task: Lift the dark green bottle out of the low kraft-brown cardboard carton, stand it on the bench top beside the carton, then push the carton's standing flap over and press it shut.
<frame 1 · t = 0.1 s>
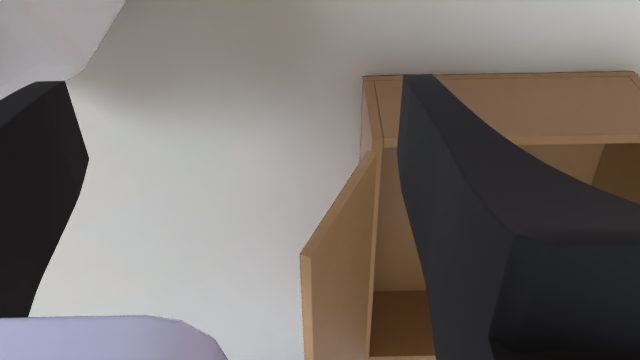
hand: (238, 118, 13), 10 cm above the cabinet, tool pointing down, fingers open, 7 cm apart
carton: (474, 196, 28), on the cabinet
flap: (340, 330, 22), point 7 cm above the cabinet, hinge at 115.0°
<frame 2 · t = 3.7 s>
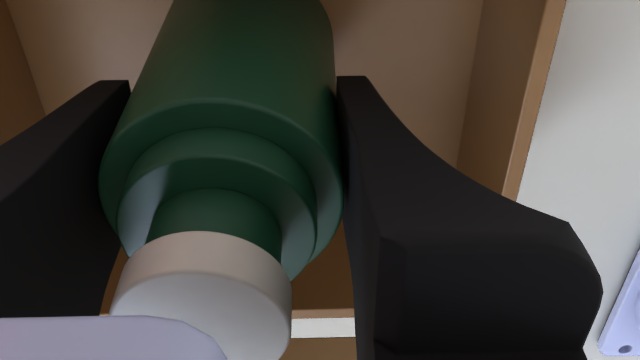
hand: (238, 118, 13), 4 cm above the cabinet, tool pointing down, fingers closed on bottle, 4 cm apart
carton: (254, 70, 17), on the cabinet
bottle: (250, 44, 16), resting on carton, touching gripper
when the fingers open (4 cm above the cabinet, at t = 8.1 s): bottle stays where it is, on the cabinet.
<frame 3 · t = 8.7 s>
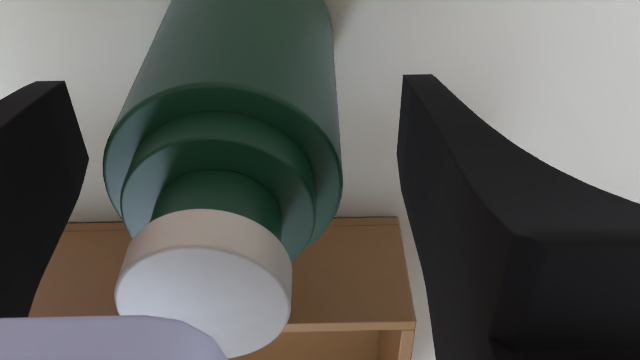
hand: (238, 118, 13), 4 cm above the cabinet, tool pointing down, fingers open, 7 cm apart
carton: (226, 321, 24), on the cabinet
bottle: (250, 35, 16), on the cabinet
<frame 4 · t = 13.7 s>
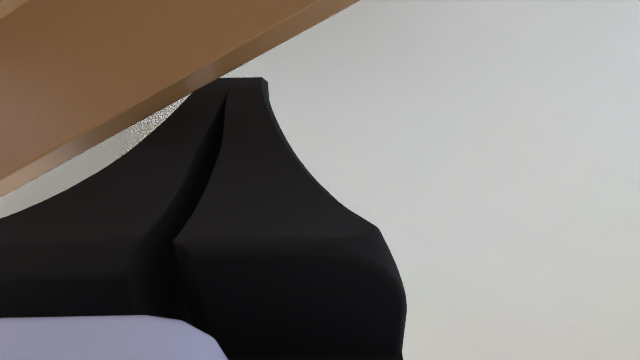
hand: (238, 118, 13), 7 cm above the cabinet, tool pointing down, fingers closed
flap: (139, 10, 11), point 8 cm above the cabinet, hinge at 105.8°, touching gripper
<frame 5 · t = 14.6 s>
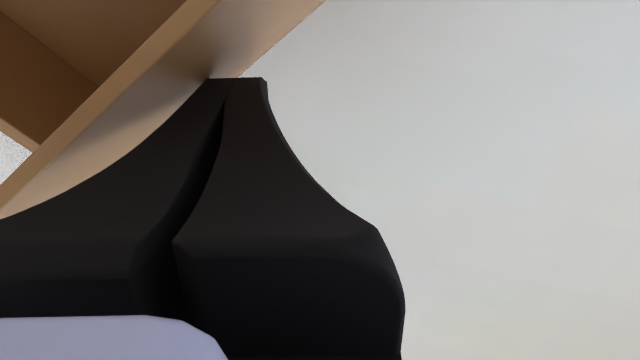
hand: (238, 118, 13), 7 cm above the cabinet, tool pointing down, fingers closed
flap: (181, 82, 12), point 7 cm above the cabinet, hinge at 61.8°, touching gripper
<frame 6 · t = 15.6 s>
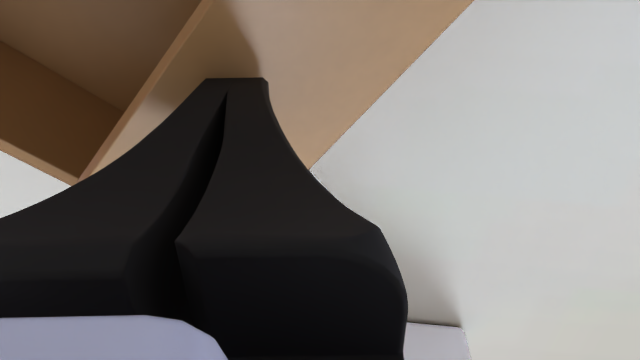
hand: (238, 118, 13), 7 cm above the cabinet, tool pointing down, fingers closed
medicine bottle: (375, 358, 30), on the cabinet
flap: (257, 108, 14), point 6 cm above the cabinet, hinge at 23.8°, touching gripper
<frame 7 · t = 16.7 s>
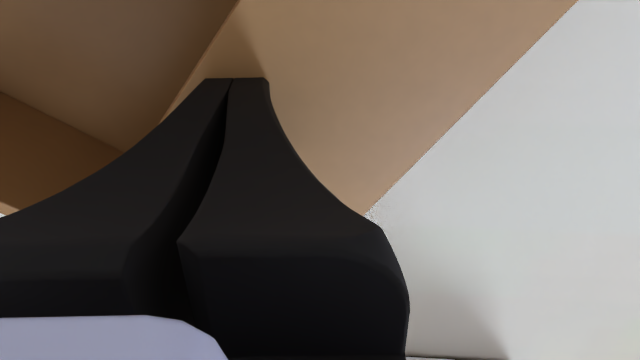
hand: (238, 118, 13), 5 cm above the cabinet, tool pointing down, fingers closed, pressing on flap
flap: (289, 142, 14), point 5 cm above the cabinet, hinge at -1.6°, touching gripper
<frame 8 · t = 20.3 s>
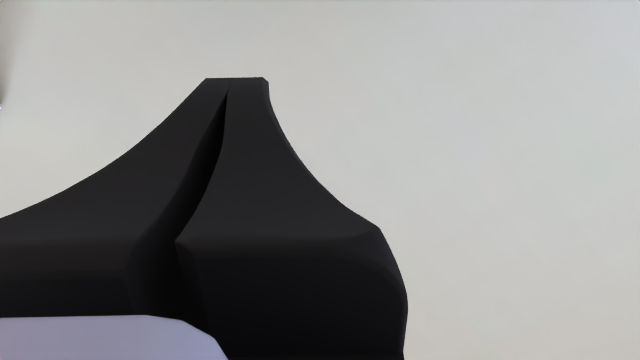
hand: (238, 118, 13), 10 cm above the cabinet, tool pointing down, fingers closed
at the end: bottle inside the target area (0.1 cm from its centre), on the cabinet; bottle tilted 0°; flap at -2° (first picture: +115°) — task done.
